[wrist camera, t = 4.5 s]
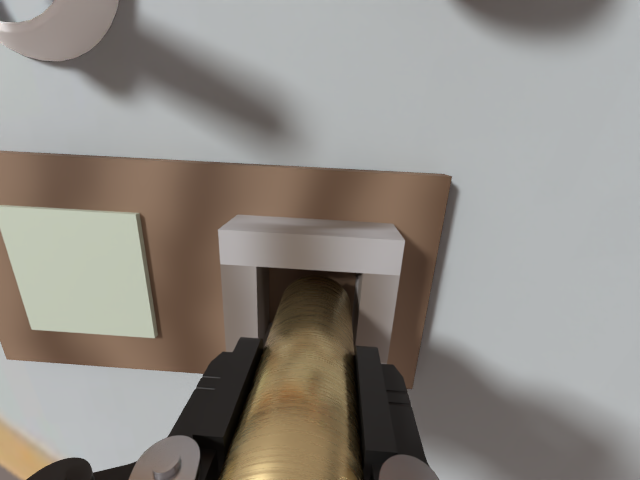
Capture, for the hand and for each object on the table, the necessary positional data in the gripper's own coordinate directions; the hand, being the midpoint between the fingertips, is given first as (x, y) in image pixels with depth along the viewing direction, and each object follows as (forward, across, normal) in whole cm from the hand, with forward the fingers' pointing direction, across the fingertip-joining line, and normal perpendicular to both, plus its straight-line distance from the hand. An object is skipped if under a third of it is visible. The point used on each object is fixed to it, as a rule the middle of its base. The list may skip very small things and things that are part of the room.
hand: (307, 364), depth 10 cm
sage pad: (+5, +12, 0) cm, 13 cm away
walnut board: (+6, +6, 0) cm, 9 cm away
